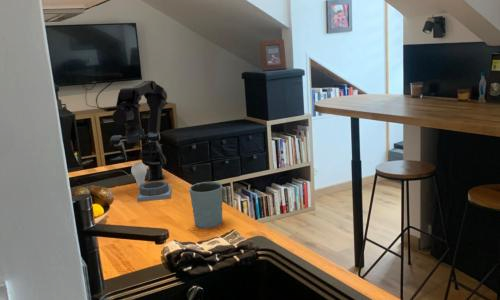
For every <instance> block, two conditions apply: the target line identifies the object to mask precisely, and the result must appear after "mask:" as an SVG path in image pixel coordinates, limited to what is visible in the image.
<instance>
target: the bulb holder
mask: <svg viewBox="0 0 500 300" xmlns="http://www.w3.org/2000/svg"><path fill="white" fill-rule="evenodd" d="M138 189H139V191H138V194H137V195H136V196H137V198H136V201H137V203H141V202H147V201H148V202H150V201H157V200H169V199H171V196H172V190H173V189H172V185H171V184H170V185H169V182H168V181H165V180H153V181H148V182H144V184H142V185H140V187H139V188H138Z"/></svg>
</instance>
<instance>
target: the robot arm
mask: <svg viewBox="0 0 500 300" xmlns="http://www.w3.org/2000/svg"><path fill="white" fill-rule="evenodd" d="M142 97H144V98H145V100H146V104H147V105H148V107H149V113H148V114H149V115H148V116H149V117H148V125H147V126H148V127H147V134H145V130H144V129H145V128H142V121H141V114H140V108H141V104H139V103H140V101H141V100H142ZM116 99H117V100H116V104H115V108H116V109H115V111H114V112H113V113H112V116H111V117H112V121H113V123H114V124H116V125H117V126H124V125H125V136H122V135H121V134H119V135H117V134H115V135H112V136H111V137H110V138H109V145H110V146H113V147H114V148H117V149H118V151H119V152H120V153H121V155H122V157H123V159H124V162H127V160H128V159H127V153H126V149H125V144H124V142H126V143H127V144H131V143H136V144H137V143H140V141H145V140H146V141H145V143H142V145H141V152H140V159H141V161H142V162H141V163H143V164H145V165H146V167H147V170H148V175H149V176H148V179H147V180H148V182H153V181H164V179H165V174H164V173H163V166H165V165H166V164H167V157H166V156H165V154H164V153H163V148H162V147H161V144H160V140H161V135H160V134H161V133H160V131H161V117H162V110H163V109H164V108H165V107H166V104H167V103H166V102H167V99H168V94H167V92H166V90H165V88H164V87H163V86H162V85H161V86H160V85H159V84H157V83H156V81H155V80H144V81H142V82H141V83H139V84H137V85H135V86H133V87H124V88H123V87H122V88H121V89H120V90H119V92H118V95H117V98H116Z"/></svg>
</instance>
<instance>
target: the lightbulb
mask: <svg viewBox="0 0 500 300" xmlns="http://www.w3.org/2000/svg"><path fill="white" fill-rule="evenodd" d="M130 171H131V174H132V176H133V177H134V179H135V181H136V184H137V188H138V189H139V187H140V185H142V184H144V183H146V182H145V179H146V175H147V172H148V166H146V165H145V164H143V163H142V162H139V161H138V162H135V163H134V164H132V166H131V170H130Z"/></svg>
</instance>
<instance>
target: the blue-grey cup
mask: <svg viewBox="0 0 500 300" xmlns="http://www.w3.org/2000/svg"><path fill="white" fill-rule="evenodd" d="M189 196H190V201H191V207H192V214H193V219H194V225H195V227H196V226H197V228H198V227H199V229H214V228H217V227H219V226H221V225H222V224H223V185H222V184H221V183H219V182H216V181H203V182H197V183H195V184H192V185H191V186H189ZM213 227H214V228H213Z"/></svg>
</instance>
